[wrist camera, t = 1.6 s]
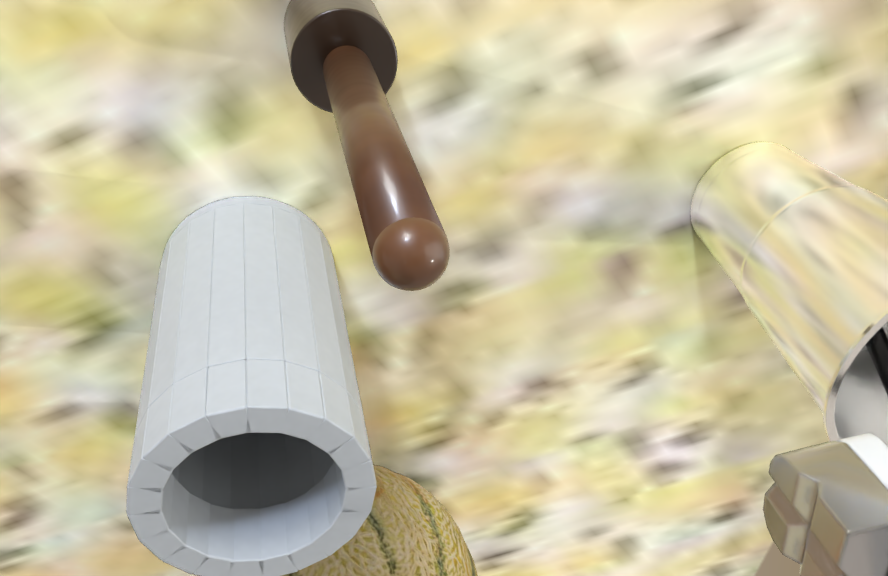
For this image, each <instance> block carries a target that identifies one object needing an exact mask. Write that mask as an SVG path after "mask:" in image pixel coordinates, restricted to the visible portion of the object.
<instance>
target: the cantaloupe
mask: <svg viewBox="0 0 888 576" xmlns="http://www.w3.org/2000/svg"><path fill="white" fill-rule="evenodd" d="M373 467H374V472H375V477H376V485H377V488H376V492H375V497H374V501H373V505H372V510H371V512H370V514H369V515H368V517H367V518H366V520H365V521H364V523H363V524H362V526H361V527H360V529H359V530H358V531H357V533H356V534H355V535H354V536H353V538H352V539H350V540H349V541H348V542H347V543H345V544H344V545H343V546H342V547H341V548H339V549H338V550H337V551H336V552H334V553H333V554H332V555H331V556H328V557H327V558H325V559H323V560H321V561H318V562H316V563H314V564H312V565H310V566H308V567H306V568H304V569H302V570H298V571H297V572H294V573H290V574H286V575H282V576H477V572H476V568H475V564H474V560H473V558H472V556H471V554H470V552H469V550H468V547H467V545H466V543H465V541H464V539H463V537H462V534H461V532H460V529H459V528H458V526H457V525H456V523H455V522H454V520H453V519H452V517H451V516H450V514H449V513H448V511H447V510H446V509H445V508H444V507H443V506H442V504H441V503H440V502H439V501H438V500H437V499H436V498H435V497H434V496H433V495H432V494H431V493H429V492H428V491H427V490H426V489H424V488H423V487H422V486H421V485H419V484H418V483H416V482H415V481H413V480H411V479H409V478H407V477H405V476H403V475H401V474H398V473H395V472H392V471H390V470H388V469H387V468H385V467H382V466H377V465H373Z"/></svg>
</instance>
